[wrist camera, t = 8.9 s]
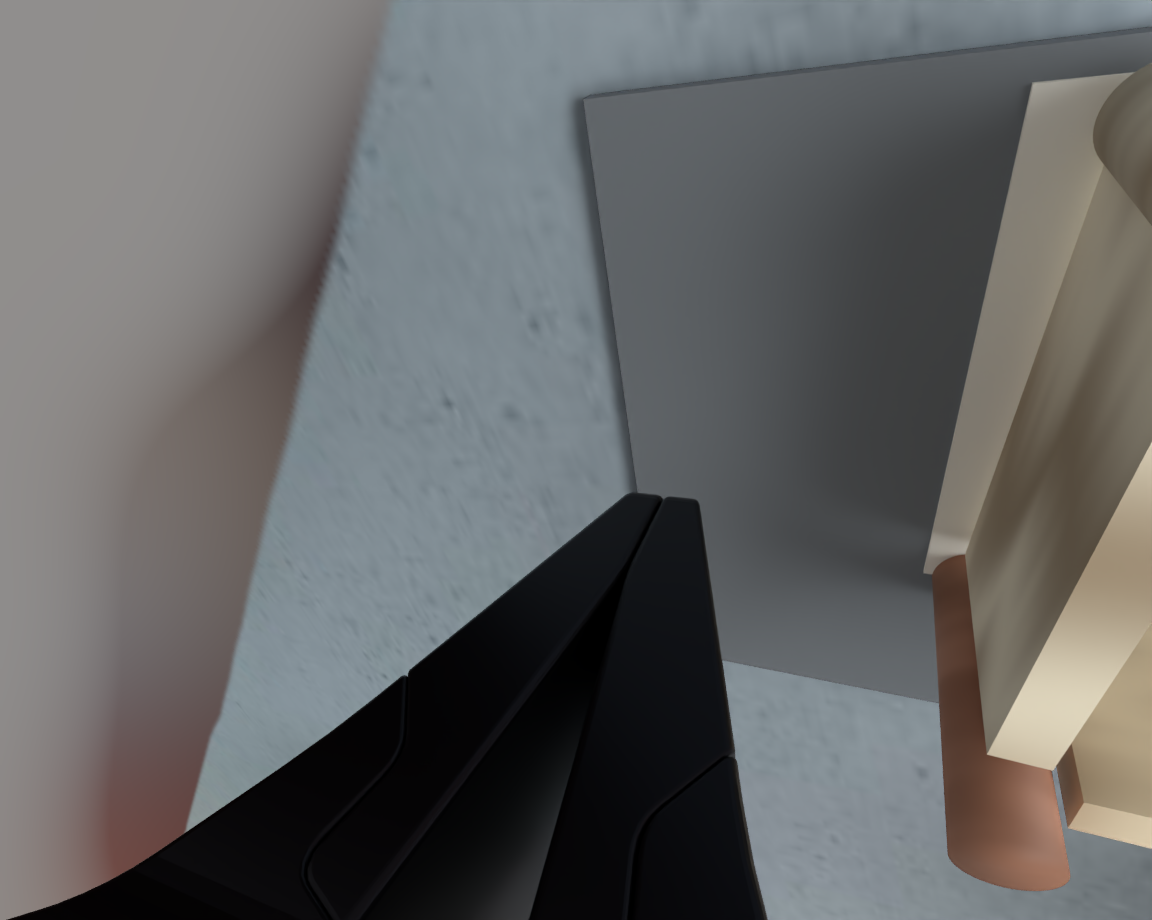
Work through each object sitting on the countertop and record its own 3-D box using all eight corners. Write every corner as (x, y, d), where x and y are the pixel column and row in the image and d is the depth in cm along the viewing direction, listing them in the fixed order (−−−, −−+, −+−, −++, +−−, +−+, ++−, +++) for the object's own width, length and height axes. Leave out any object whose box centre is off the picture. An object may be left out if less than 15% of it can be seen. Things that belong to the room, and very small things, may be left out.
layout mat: (2796, -173, 6) (2923, -177, 5) (1479, 796, 16) (1493, 817, 15) (589, 94, 13) (581, 100, 13) (661, 638, 23) (657, 649, 23)
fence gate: (1030, 564, 15) (1082, 822, 11) (950, 552, 15) (971, 792, 11) (1263, 48, 9) (1594, 186, 5) (1116, 57, 9) (1296, 188, 5)
